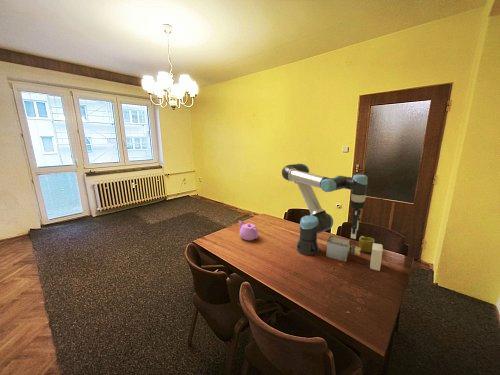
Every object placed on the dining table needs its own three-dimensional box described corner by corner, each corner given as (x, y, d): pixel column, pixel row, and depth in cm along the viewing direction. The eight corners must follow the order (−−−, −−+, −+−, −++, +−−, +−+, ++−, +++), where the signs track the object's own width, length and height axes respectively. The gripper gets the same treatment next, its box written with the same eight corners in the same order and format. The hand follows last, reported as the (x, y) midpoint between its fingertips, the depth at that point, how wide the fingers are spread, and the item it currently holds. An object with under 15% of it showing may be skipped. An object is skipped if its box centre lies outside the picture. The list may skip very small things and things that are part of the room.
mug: (379, 252, 137) (375, 237, 137) (362, 255, 139) (358, 240, 140) (373, 246, 149) (369, 233, 149) (358, 249, 151) (354, 236, 152)
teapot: (263, 238, 162) (263, 224, 160) (251, 244, 153) (251, 229, 150) (244, 231, 175) (244, 217, 173) (233, 236, 166) (232, 222, 163)
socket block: (369, 268, 123) (372, 249, 120) (370, 260, 131) (372, 242, 128) (379, 271, 121) (382, 251, 118) (379, 263, 128) (382, 244, 125)
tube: (330, 250, 135) (331, 242, 134) (331, 246, 140) (332, 239, 139) (359, 257, 127) (360, 249, 126) (360, 253, 131) (361, 245, 130)
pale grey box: (326, 256, 136) (327, 240, 134) (328, 250, 143) (330, 235, 141) (346, 261, 130) (347, 245, 127) (347, 255, 137) (349, 239, 135)
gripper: (363, 207, 111) (359, 243, 116) (366, 196, 132) (362, 228, 137) (348, 205, 115) (344, 240, 120) (353, 195, 136) (350, 225, 140)
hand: (354, 233), depth 128 cm, fingers open, 13 cm apart
